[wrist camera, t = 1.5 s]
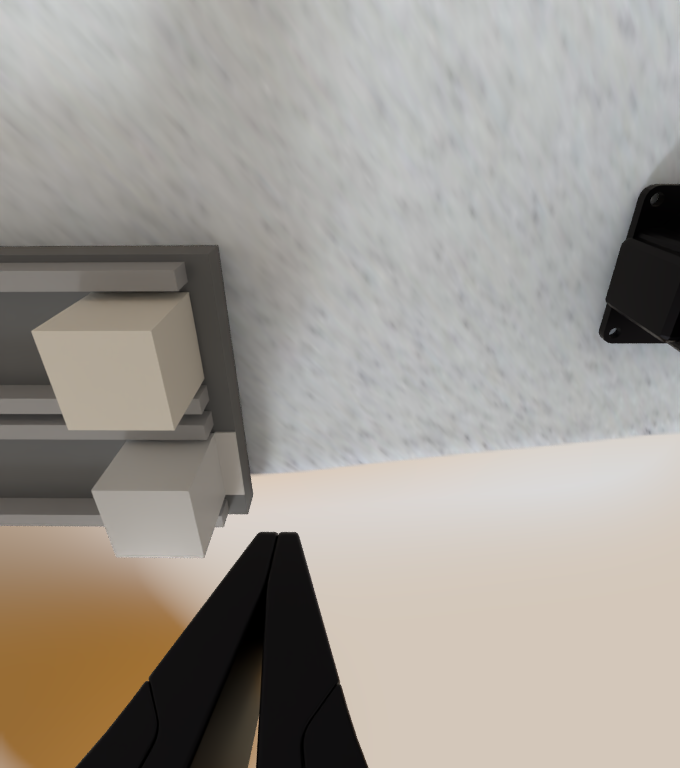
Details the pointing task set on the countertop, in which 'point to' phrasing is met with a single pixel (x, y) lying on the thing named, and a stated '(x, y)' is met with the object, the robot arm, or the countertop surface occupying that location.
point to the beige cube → (123, 360)
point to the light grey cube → (161, 498)
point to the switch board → (38, 401)
